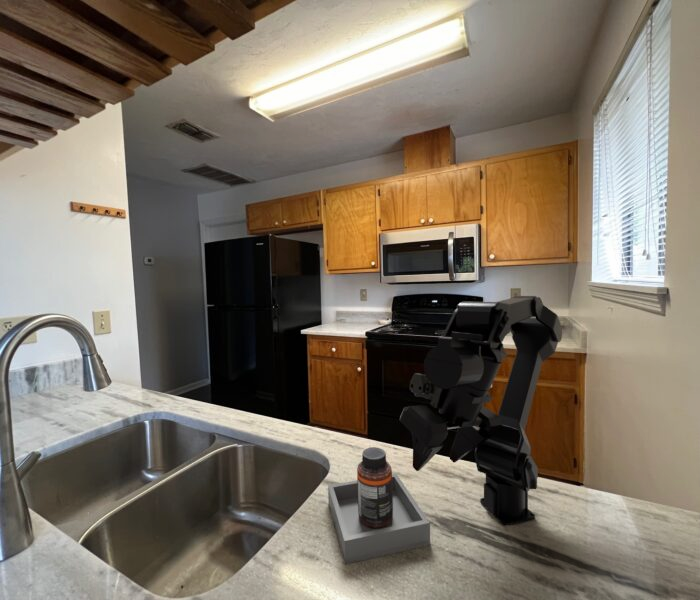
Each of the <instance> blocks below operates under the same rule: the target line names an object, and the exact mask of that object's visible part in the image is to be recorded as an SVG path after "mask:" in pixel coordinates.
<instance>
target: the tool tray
mask: <svg viewBox="0 0 700 600" xmlns="http://www.w3.org/2000/svg"><path fill="white" fill-rule="evenodd" d="M392 493H393V518H392V520H391V522H390V523H389V524H388V525H387V526H385V527H382V528H371V527H368V526H366V525H364V524H363V523H362V522H361V520H360V519H359V513H358V504H357V503H358V483H357V480H352V481H351V480H350V481H346V482H340V483H334V484H329V485H327V496H328V497H327V498H328V499H327V500H328V507H329V510H330V514H331V519H332V521H333V525H334V529H335V533H336V536H337V540H338V543H339V549H340V552H341V555H342V559H343V563H344V565H349V564H353V563H357V562H363V561H366V560H370V559H375V558H378V557H383V556H388V555H393V554H397V553H401V552H405V551H409V550H414V549H418V548H423V547H426V546H431V522H430V521H429V519H428V518H427V516H426V515H425V513H424V512H423V510H422V509H421V507H420V506H419V505H418V503H417V501H416V500H415V498H414V497H413V496H412V494H411V493H410V491H409V490H408V489H407V487H406V486H405V483H403V481H402V480H401V478H400V476H399V475H398V474H397V473H392Z"/></svg>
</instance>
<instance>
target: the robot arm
mask: <svg viewBox="0 0 700 600" xmlns="http://www.w3.org/2000/svg"><path fill="white" fill-rule="evenodd" d="M510 333H511V338H512V341H513V343H514V347H515V349H516V352H515V353H516V354H515V357H514V360H513V363H512V367H511V369H510V373H509V375H508V376H509V377H508V380H507V383H506V387H505V390H504V393H503V397H502V399H501V403H500V406H499V409H498V413H497V414H496V413H495V412H493V411H492V410H490V409H489V408H488V407H486V406H485V405H484V404H486V403H488V404H489V403H491V401H492V399H493V396H492V395H491V394H489V391H490V389H491V387H492V385H493V383H494V380H495V378H496V377H497V374H498V372H499V369H500V367H501V365H502V362H503V360H505V359H507V356H508V355H507V352H506V350H505V348H504V343H503V341H504V339H505V337H506V336H507V335H509V334H510ZM562 338H563V327H562V324H561V321H560V319H559V316H558V314H557V313H555V312H554V311H553V310H551V309H550V308H548V307H547V306H545V305H544V303H543V300H542V299H541V297H540V296H536V295H514V296H511V297H510V298H507V299H503V300H502V299H501V300H499V301H461V302H459V303H458V304H457V305H456V309H455V310H454V311H453V313H452V315H451V317H450V320H449V321H448V323H447V325H446V327H445V330H444V332H443V333H442V336H439V337H438V342H437V345H436V346H433V347H432V348H431V349H429V350H428V352H427V353H426V357H425V358H424V360H423V371H424V374H422V373H417V372H416V373H414V374H413V376H412V378H411V380H410V383H409V390H410V392H411V393H413V394H414V397H416V398H419V397H421V398H424V399H427V400H431V401H430V403H429V404H430V405H431V406H432V407H433V408H435V409H437V410H438V413H439V414H436V412H433V411H432V410H431V409H430V407H428V406H427V405H425V404H419V405H408V406H405V407H403V410H402V412H401V414H400V417H399V422H400V423H401V424H402V425H404V427H405V428H406V429H407V430H409V432H410V433H411V436H412V468H413V469H414V471H416V472H419V471H421V470H422V469H423V468H424V467H425V466H426V465H427V463H429V461H430V460H431V459H432V458H433V457H434V456H435V455H436V454H437V453H439V451H440V450H441V449H442V448H443V447H444V444H443V443H444V441H445V440H446V439H447V437H448V434H449V430H452V429H457V431H456V434H455V437H454V440H453V444H452V446H451V450H450V454H449V460H451V462H452V463H457V462H459V460H461V459H462V458H464V457H465V456H466V455H468V454H469V453H471V451H473V455H474V460H475V465H476V470H477V472H478V473H482V474H484V475H485V483H484V484H483V497H482V498H480V499H479V503H480V504H481V505H483V506H484V507H485V509H486V510H487V511H488V512H489V513H490V514H491V515H492V516H493V517H494V518H495V519H497V521H498V522H499V523H500V524H501V525H503V526H510V525H514V524H519V523H523V522H529V521H532V520H536V514H535V513H533V512H532V511H531V510H530V509H529V491H530V490H537V488H538V477H539V475H538V474H539V473H538V472H539V468H538V466H537V464H536V463H535V461H534V460H533V457H532V456H531V453H532V452H531V451H532V449H531V445H530V441H529V440H528V437H527V435H526V426H527V425H528V419H529V415H530V411H531V408H532V403H533V400H534V396H535V392H536V388H537V385H538V381H539V377H540V373H541V369H542V365H543V362H544V361H545V360H547V359H548V358H550V357H551V356H552V355H554V354H555V353H556V349H557V346H558V343H560V342H561V341H562Z"/></svg>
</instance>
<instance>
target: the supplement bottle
mask: <svg viewBox="0 0 700 600" xmlns="http://www.w3.org/2000/svg"><path fill="white" fill-rule="evenodd" d="M361 454H362V456H361V457H362V458H361V460H362V461H360V463H359V464H358V465H357V471H356V473H357V474H356V478H357V480H356V481H357V483H358V503H357V504H358V513H359V519H360V520H361V522H362V523H363V524H364V525H366V526H368V527H371V528H382V527H385V526H387V525H388V524H389V523H390V522H391V520H392V518H393V493H392V474H393V470H392V466H391V463H389V462H388V461H387V456H386V455H387V454H386V451H385V450H384V449H382V448H380V447H375V446H372V447H367V448H365V449H364V450H363V451H362V453H361Z"/></svg>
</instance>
